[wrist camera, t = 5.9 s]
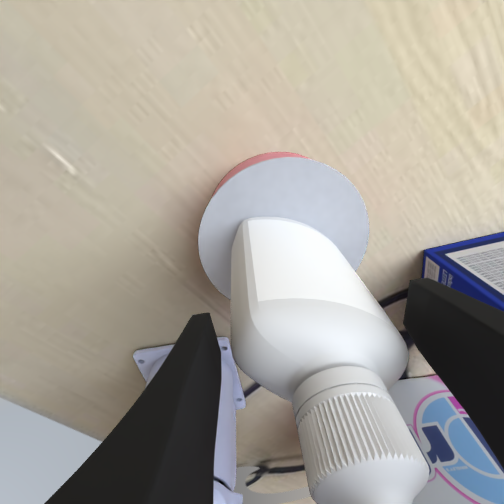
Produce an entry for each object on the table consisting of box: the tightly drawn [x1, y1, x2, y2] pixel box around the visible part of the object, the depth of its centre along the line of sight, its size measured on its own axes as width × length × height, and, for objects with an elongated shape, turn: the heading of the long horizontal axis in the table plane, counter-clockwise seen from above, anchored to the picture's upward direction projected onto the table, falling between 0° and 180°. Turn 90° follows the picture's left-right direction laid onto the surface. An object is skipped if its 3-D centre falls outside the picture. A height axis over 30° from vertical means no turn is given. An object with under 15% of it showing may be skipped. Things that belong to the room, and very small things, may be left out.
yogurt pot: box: [198, 152, 369, 300], centre depth 16 cm, size 9×9×3 cm
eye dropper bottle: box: [231, 217, 429, 504], centre depth 9 cm, size 4×6×12 cm
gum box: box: [388, 375, 504, 504], centre depth 22 cm, size 24×8×14 cm, turn 99°
